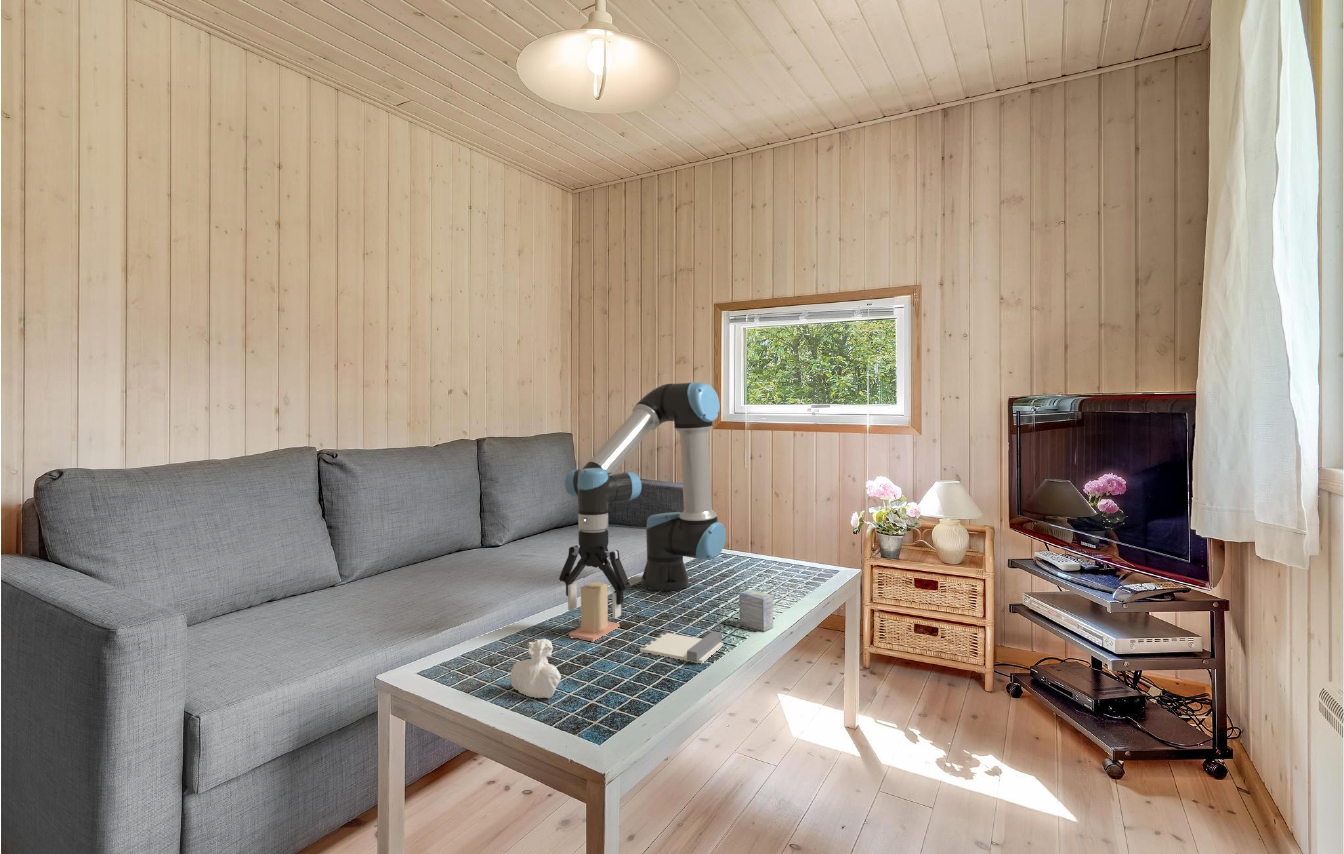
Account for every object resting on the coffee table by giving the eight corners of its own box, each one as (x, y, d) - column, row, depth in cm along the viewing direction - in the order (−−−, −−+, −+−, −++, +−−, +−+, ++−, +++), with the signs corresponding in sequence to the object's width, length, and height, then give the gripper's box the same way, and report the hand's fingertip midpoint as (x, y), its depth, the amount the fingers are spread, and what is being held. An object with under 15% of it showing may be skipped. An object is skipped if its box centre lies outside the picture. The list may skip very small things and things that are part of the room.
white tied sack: (562, 708, 127) (582, 652, 133) (542, 697, 122) (564, 639, 128) (515, 696, 133) (536, 642, 139) (494, 685, 128) (517, 629, 133)
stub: (568, 637, 160) (568, 589, 160) (596, 622, 170) (595, 578, 170) (592, 642, 156) (592, 593, 156) (619, 627, 167) (619, 581, 167)
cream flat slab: (637, 653, 149) (637, 641, 149) (666, 634, 162) (666, 623, 162) (700, 666, 142) (699, 653, 142) (724, 645, 154) (724, 633, 154)
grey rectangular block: (773, 627, 166) (773, 594, 166) (763, 632, 163) (763, 598, 163) (749, 621, 172) (748, 589, 172) (738, 625, 169) (738, 592, 168)
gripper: (544, 528, 165) (546, 609, 166) (627, 536, 154) (628, 624, 154) (562, 523, 172) (563, 601, 172) (643, 531, 160) (644, 615, 161)
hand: (594, 612), depth 163 cm, fingers open, 13 cm apart
